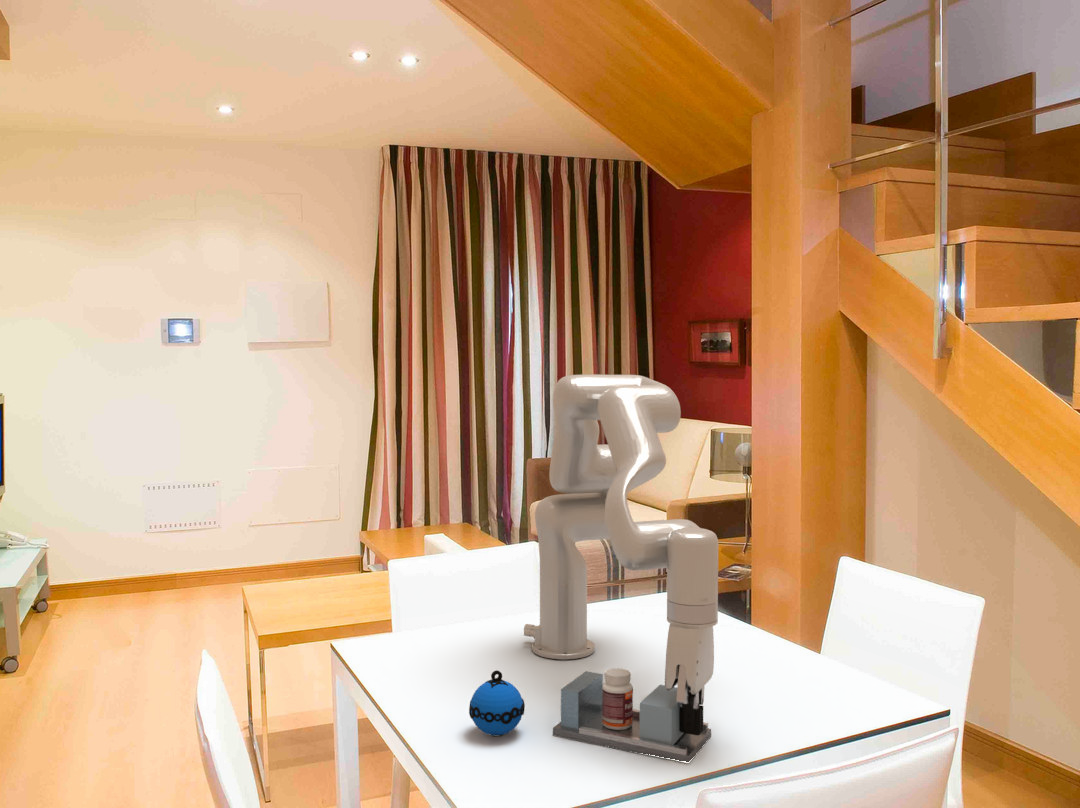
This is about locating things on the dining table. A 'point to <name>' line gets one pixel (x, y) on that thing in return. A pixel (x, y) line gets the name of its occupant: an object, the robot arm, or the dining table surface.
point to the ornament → (496, 706)
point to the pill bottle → (617, 699)
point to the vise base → (586, 726)
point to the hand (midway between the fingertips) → (691, 731)
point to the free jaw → (660, 716)
